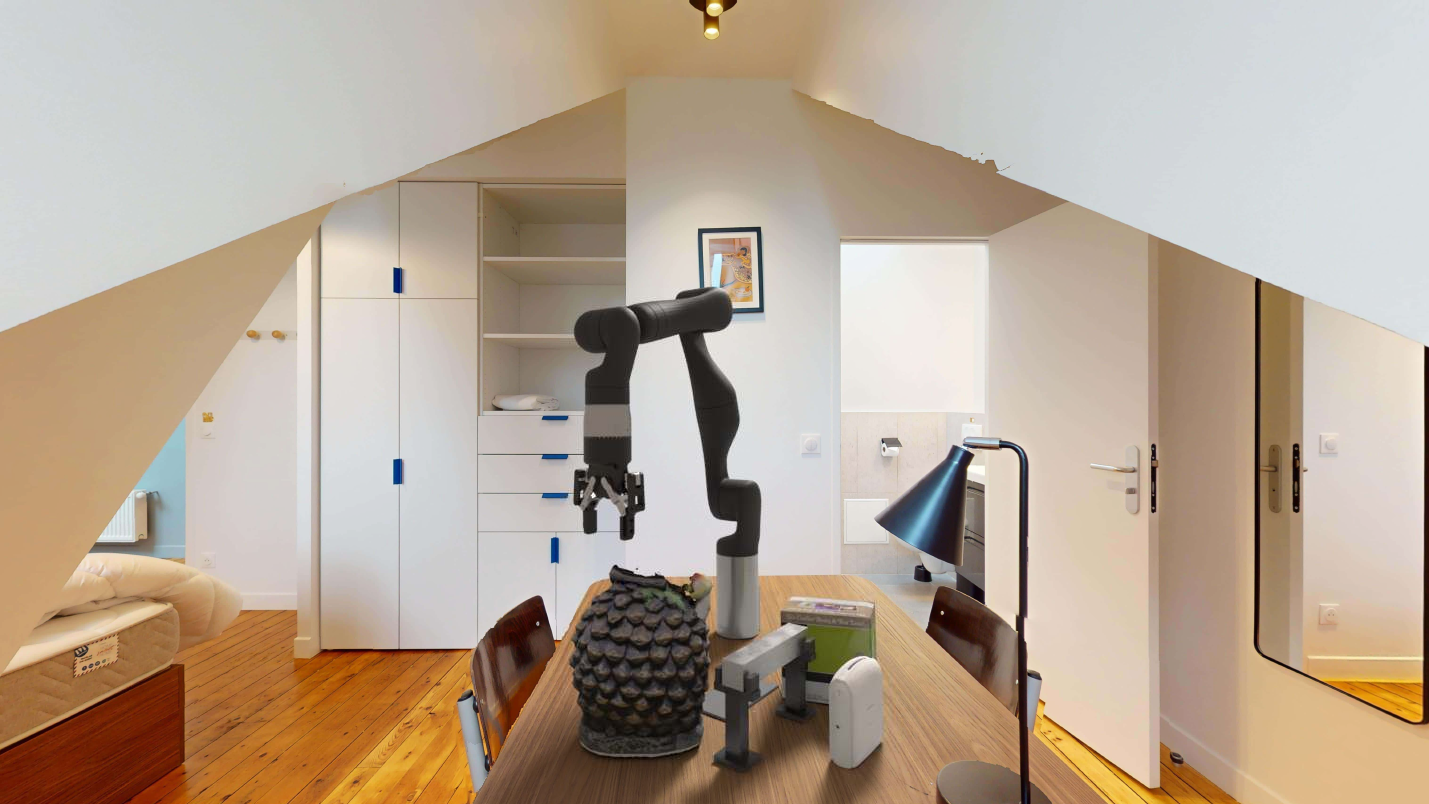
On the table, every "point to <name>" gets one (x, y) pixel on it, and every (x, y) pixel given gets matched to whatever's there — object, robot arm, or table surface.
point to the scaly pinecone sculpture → (643, 665)
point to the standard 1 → (737, 724)
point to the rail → (764, 655)
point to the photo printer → (855, 711)
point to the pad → (716, 699)
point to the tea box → (831, 637)
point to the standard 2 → (797, 686)
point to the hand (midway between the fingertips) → (607, 536)
